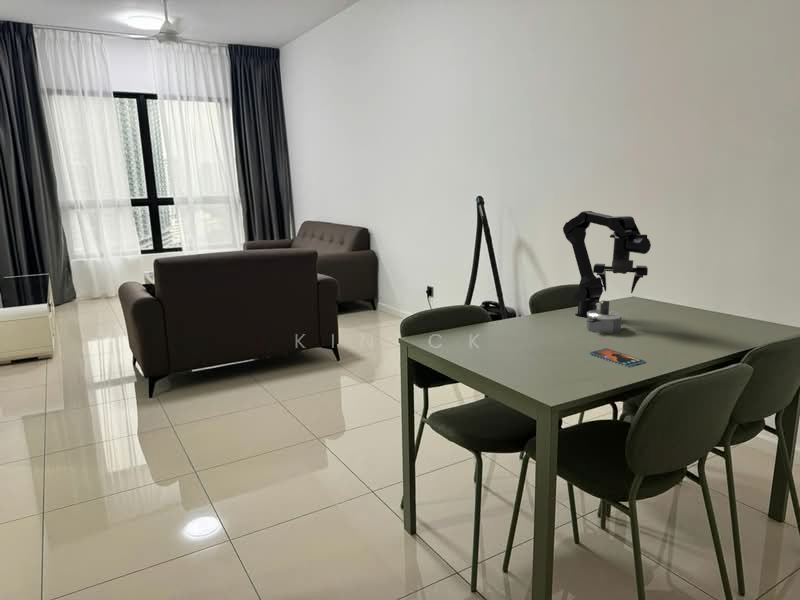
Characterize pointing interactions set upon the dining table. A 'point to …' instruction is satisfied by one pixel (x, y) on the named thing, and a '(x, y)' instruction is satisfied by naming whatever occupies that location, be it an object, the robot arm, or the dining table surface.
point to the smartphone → (617, 357)
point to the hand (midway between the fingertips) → (618, 292)
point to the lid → (604, 313)
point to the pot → (603, 325)
